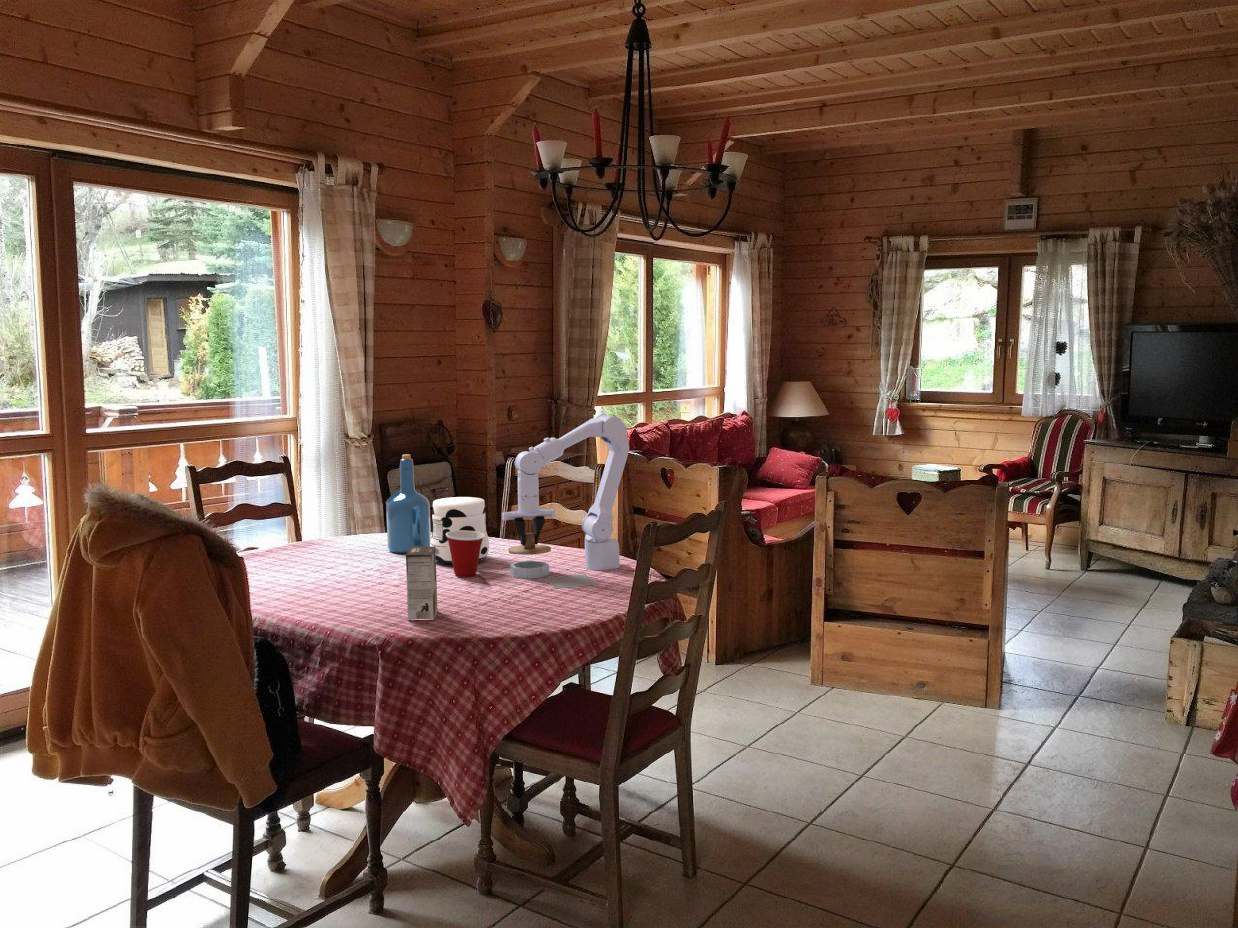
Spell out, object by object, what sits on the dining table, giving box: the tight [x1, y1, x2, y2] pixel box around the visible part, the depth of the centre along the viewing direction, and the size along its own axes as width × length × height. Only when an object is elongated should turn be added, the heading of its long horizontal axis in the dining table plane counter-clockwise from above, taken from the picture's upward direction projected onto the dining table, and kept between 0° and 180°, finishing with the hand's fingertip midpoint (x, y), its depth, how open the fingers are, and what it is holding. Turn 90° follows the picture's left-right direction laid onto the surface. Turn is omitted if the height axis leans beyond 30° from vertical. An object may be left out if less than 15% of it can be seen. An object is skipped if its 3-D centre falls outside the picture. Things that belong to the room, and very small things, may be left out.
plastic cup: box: [446, 530, 485, 578], centre depth 284 cm, size 11×11×12 cm
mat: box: [542, 574, 600, 589], centre depth 274 cm, size 12×12×1 cm
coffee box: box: [405, 546, 439, 620], centre depth 244 cm, size 9×6×16 cm
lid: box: [508, 532, 552, 556], centre depth 281 cm, size 12×12×5 cm
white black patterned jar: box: [430, 496, 490, 565], centre depth 302 cm, size 17×17×18 cm
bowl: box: [509, 559, 550, 579], centre depth 282 cm, size 10×10×4 cm
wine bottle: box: [385, 453, 432, 555], centre depth 317 cm, size 14×13×30 cm
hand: (529, 544), depth 281 cm, fingers closed on lid, 3 cm apart
